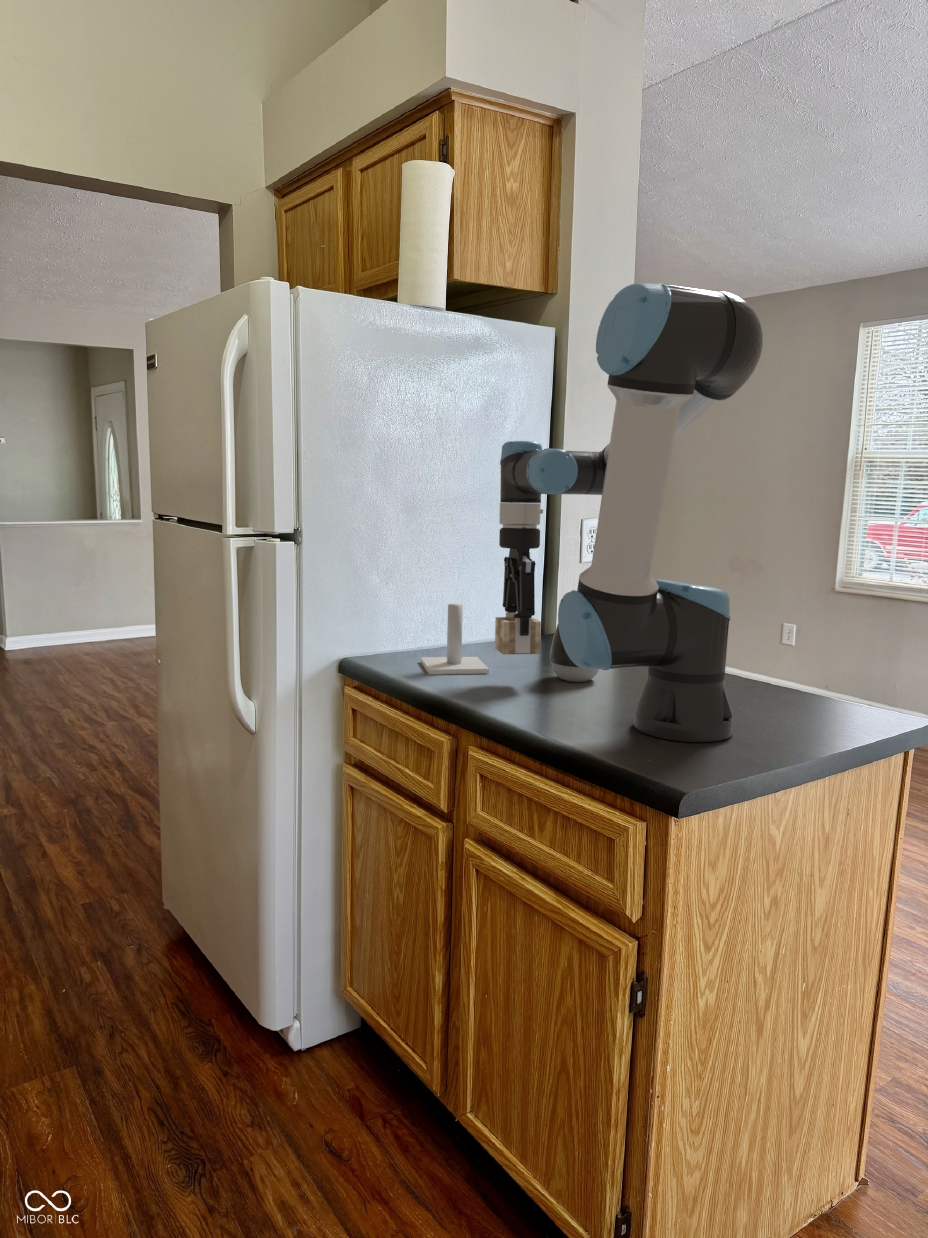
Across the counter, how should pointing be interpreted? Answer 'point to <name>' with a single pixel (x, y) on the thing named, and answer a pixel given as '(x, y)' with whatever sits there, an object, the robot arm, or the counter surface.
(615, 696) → the counter surface
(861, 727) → the counter surface
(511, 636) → the collar
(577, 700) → the counter surface
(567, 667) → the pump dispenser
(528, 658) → the counter surface
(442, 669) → the post fixture
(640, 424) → the robot arm
